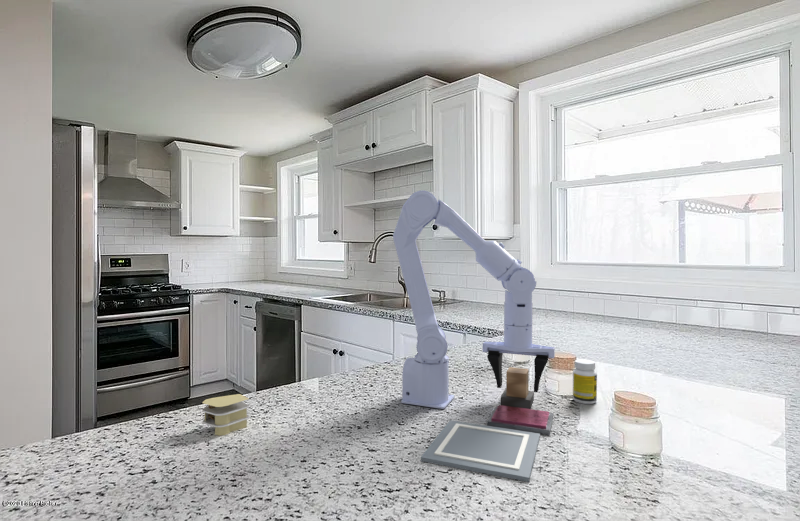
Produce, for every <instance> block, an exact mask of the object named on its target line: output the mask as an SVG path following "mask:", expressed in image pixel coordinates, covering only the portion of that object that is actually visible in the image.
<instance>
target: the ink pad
mask: <svg viewBox="0 0 800 521" xmlns="http://www.w3.org/2000/svg"><path fill="white" fill-rule="evenodd" d="M553 423H554V412H550V411H546V410H540V409H532V408H531V409H525V408H518V407H510V406H503V405H501V404H499V405H495V406H494V408H493V410H492V412H491V413H490V415H489V416H488V418H487V420H486V426H493V427H499V428H506V429H513V430H519V431H526V432H532V433H539V434H540V435H547V436H550V435H551V431H552V427H553V426H552V425H553Z"/></svg>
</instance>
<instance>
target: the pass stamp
mask: <svg viewBox="0 0 800 521" xmlns="http://www.w3.org/2000/svg"><path fill="white" fill-rule="evenodd" d="M529 370H530V369H529V368H521V367H512V366H509V367H508V369H507V370H506V374H505V375H506V379H505V380H506V386H505V387H506V388H505V389H504V390H503V391H502V393H501V395H500V405H503V406H510V407H518V408H525V409H532V407H533V405H532V404H534V402H535V392H534V390H533V391H532V390H529V389H530V388H529V383H530V382H529V381H530V376H529V374H530V373H529V372H530V371H529ZM533 401H534V402H533Z"/></svg>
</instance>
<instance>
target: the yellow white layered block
mask: <svg viewBox="0 0 800 521" xmlns="http://www.w3.org/2000/svg"><path fill="white" fill-rule="evenodd" d="M249 399H250V398H249V397H247V396H245V395H243V394H241V393H237V394H228V395H224V396H223V395H222V396H217V397H211V398H206V399H205V400H203V401H202V404H204V405H205V407H203V409H202V410H201V411H202V413H204V419H203V420H202V422H201V423H202V424H203V425H207V426H211V427H214V435H215V436H221V437H222V436H226V435H229V434H230V433H231V432H235V431H239V430H242V429H245V428H247V427H248V421H247V420H249V419H250V416H249V415H247V413H248V411H247V410H248V409H249V408H250V405H249V404H247V403H246V402H244V401H246V400H247V401H248V400H249ZM206 405H207V406H206Z"/></svg>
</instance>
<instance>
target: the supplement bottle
mask: <svg viewBox="0 0 800 521" xmlns="http://www.w3.org/2000/svg"><path fill="white" fill-rule="evenodd" d="M574 367H575V368H574V369H573V370H572V400H573V401H574V402H577V403H580V404H586V405H592V404H596V403H597V400H598V398H597V397H598V394H597V391H598V386H597V385H598V374H597V371H596V361H594V360H592V359H591V360H590V359H584V358H583V359H575V361H574Z"/></svg>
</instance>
